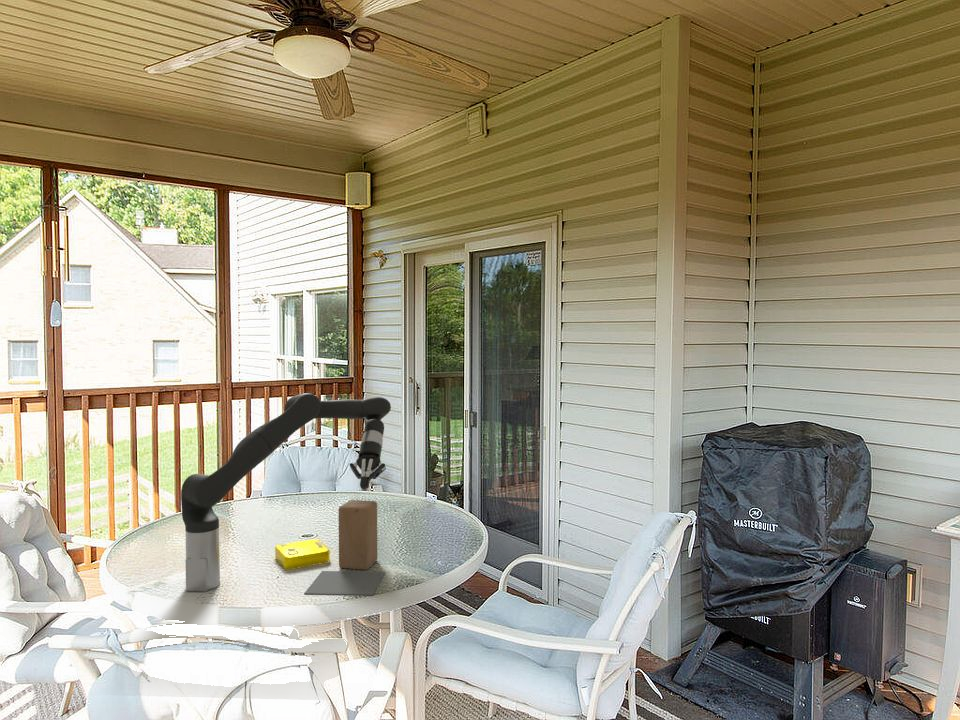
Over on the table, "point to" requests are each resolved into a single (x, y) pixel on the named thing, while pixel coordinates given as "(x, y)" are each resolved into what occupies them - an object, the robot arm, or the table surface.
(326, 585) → the mat
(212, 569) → the robot arm
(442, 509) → the table surface
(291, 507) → the table surface
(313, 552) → the yellow labelled tile
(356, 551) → the wooden block
